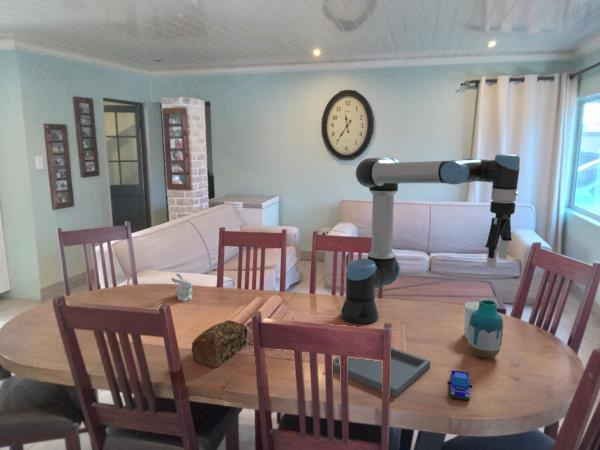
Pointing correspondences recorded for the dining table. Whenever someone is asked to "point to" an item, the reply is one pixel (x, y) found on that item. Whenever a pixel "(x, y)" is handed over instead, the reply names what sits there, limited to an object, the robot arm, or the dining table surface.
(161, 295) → the dining table surface
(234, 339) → the bread
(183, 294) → the rabbit
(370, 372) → the tray
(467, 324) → the candle holder
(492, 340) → the vase
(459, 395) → the toy car
